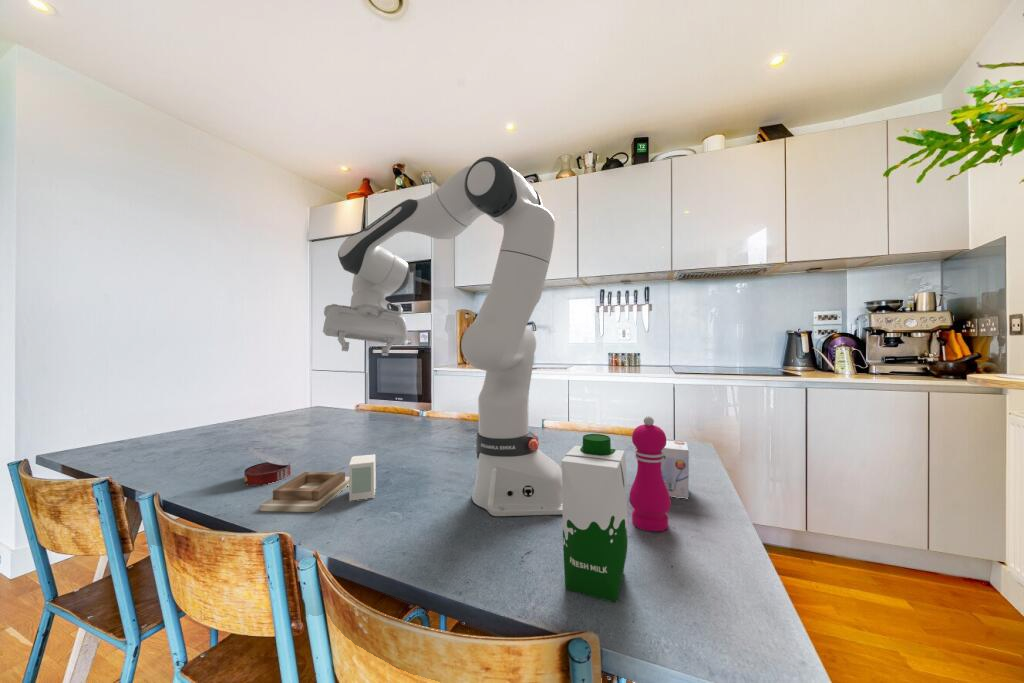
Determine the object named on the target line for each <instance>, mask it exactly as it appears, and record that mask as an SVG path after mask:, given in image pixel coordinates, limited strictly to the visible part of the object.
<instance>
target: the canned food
mask: <svg viewBox="0 0 1024 683" xmlns="http://www.w3.org/2000/svg"><path fill="white" fill-rule="evenodd" d="M248 448H249V451H250V452H251V453H250V454H252V455H253V456H254V457H256V458H258V459H259V460H261V461H263V462H261V463H258V464H254V465H251V466H249V467H247V468H246V469H244V475H243V476H244V485H246V484H248V485H247V486H250V485H260V486H264V485H263V484H267V485H269V484H268V483H272V482H276V481H279V480H282V479H284V478H286V477H288V476H289V475H290V476H291V463H290V461H287V460H285V459H283V458H278V457H275V456H272V455H269V454H265V453H263V452H261V451H258V450H257V449H256V448H255V447H252V446H250V447H248ZM290 476H289V477H290ZM289 477H288V478H289ZM286 479H287V478H286ZM284 480H285V479H284ZM282 481H283V480H282ZM279 482H280V481H279ZM276 483H277V482H276ZM272 484H273V483H272Z"/></svg>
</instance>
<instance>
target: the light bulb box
mask: <svg viewBox="0 0 1024 683" xmlns="http://www.w3.org/2000/svg"><path fill="white" fill-rule="evenodd" d="M662 452H663V453H664V455H663V458H664V460H663V461H662V462H661V473H662V477H663V480H664V483H665V485H666V488H667V490H668V492H669V496H676V497H684V498H688V497H689V492H690V491H689V489H690V488H689V484H690V483H689V481H690V480H689V479H690V478H689V476H690V474H689V473H690V452H689V445H688V442H687V441H675V440H673V441H672V440H666V446H665V447H664V448H663V449H662Z"/></svg>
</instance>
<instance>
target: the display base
mask: <svg viewBox="0 0 1024 683" xmlns="http://www.w3.org/2000/svg"><path fill="white" fill-rule="evenodd" d="M347 486H348V487H349V476H346V472H345V471H344V472H339V471H338V472H337V471H332V472H331V471H329V472H328V471H327V472H326V471H304V472H303V473H301V474H299V475H298V476H296V477H294V478H292V479H291V480H289V481H287V482H286V483H283V484H281V485H280V486H278V487H277V488H275V489H273V490H272V497H271V498H269V499H267V500H266V501H264V502H263V503H261V504H260V505H259V512H290V513H291V512H293V513H294V512H297V513H299V512H300V513H302V512H304V513H305V512H306V513H317V512H319V510H321V509H322V508H323V507H324V506H326V505H327V504H328V503H330V500H331V499H332V498H333V499H334V497H335V496H336V495H337V494H338V493H340V492H341V491H342V490H343V491H345V490H346V489H347V488H348V487H347ZM346 487H347V488H346ZM345 488H346V489H345ZM344 489H345V490H344ZM343 491H342V492H343ZM342 492H341V493H342ZM341 493H340V494H341ZM338 495H339V494H338ZM338 495H337V496H338ZM337 496H336V497H337ZM336 497H335V498H336ZM333 499H332V500H333ZM332 500H331V501H332ZM327 502H328V503H327ZM326 503H327V504H326ZM325 504H326V505H325ZM323 505H324V506H323ZM322 506H323V507H322ZM321 507H322V508H321ZM320 508H321V509H320ZM316 511H317V512H316Z"/></svg>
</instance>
